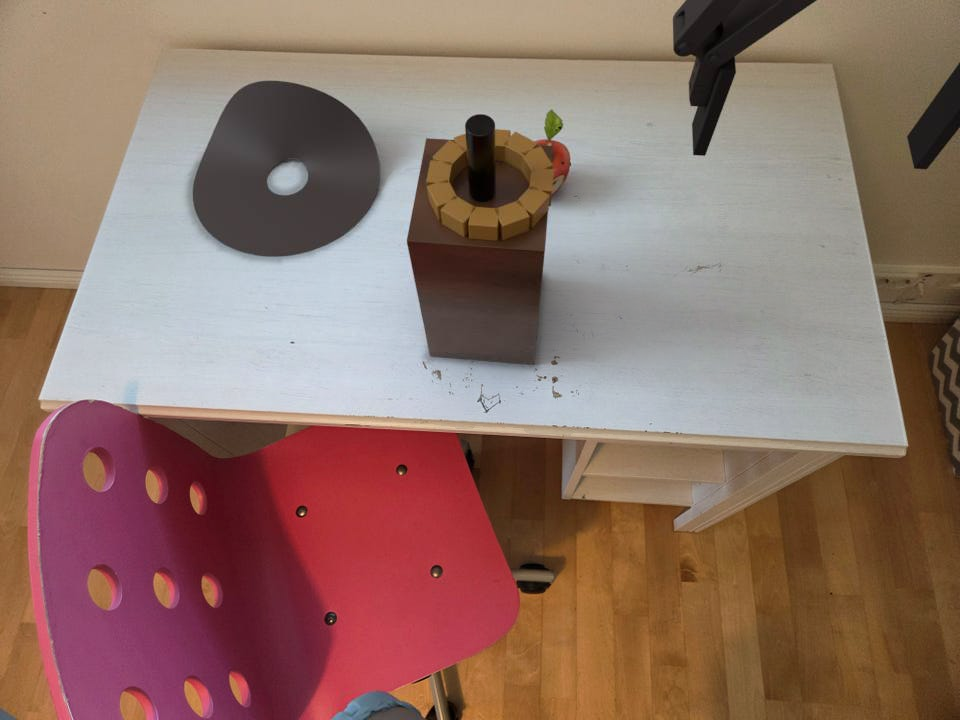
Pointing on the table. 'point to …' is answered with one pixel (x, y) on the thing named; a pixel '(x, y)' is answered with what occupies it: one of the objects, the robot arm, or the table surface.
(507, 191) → the stand
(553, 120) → the apple
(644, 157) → the table surface
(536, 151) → the ring
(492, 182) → the post
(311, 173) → the dark holed disc
